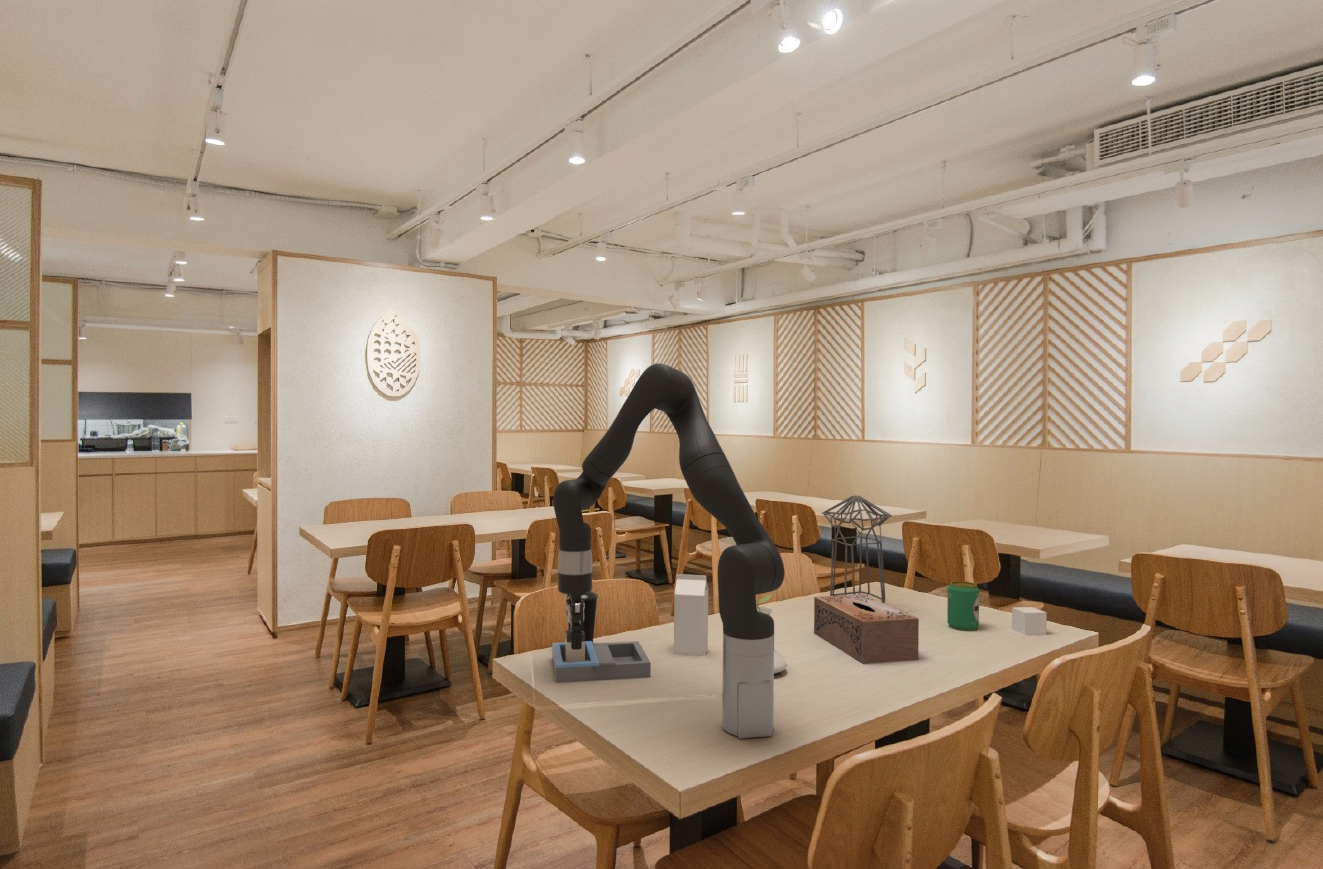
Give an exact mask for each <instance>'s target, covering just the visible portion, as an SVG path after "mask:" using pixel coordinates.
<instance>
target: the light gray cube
mask: <svg viewBox="0 0 1323 869" xmlns="http://www.w3.org/2000/svg"><path fill="white" fill-rule="evenodd" d="M1047 614H1048V613H1047V612H1046V611H1044V610H1041V609H1038V608H1037V607H1033V606H1023V607H1021V606H1020V607H1019V606H1018V607H1011V629H1012V630H1014V631H1015V632H1017V633H1020V634H1022V635H1023V636H1044V635H1045V636H1047Z"/></svg>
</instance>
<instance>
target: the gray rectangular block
mask: <svg viewBox="0 0 1323 869" xmlns="http://www.w3.org/2000/svg"><path fill="white" fill-rule="evenodd" d="M564 638H565V639H564V640H565V641H564V642H565V662H582V661H585V633H584V630H583V631H582V648H581V649H577V650H573V649H572V648H571V631H570V630H568V629H567V630H565V637H564Z"/></svg>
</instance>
